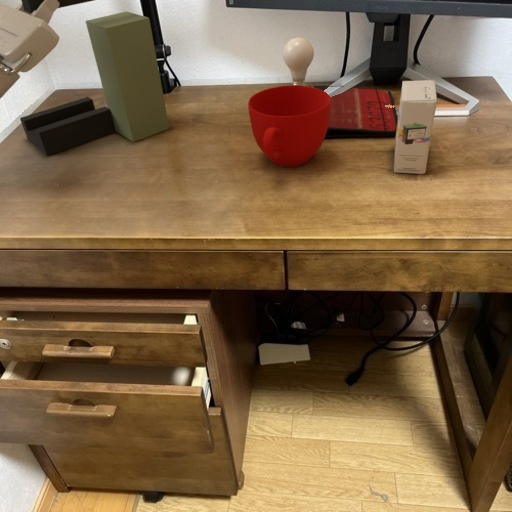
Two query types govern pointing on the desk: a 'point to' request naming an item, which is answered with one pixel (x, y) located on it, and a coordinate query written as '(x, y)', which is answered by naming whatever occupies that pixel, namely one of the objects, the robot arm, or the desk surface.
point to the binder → (361, 113)
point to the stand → (129, 73)
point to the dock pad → (67, 125)
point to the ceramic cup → (289, 122)
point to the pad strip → (32, 3)
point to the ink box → (414, 126)
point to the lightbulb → (298, 58)
